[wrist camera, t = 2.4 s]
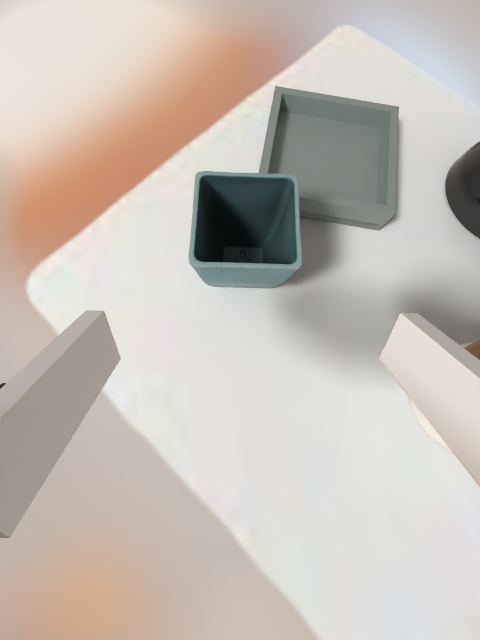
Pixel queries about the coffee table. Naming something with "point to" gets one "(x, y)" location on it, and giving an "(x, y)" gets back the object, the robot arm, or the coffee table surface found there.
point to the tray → (335, 155)
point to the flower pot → (245, 229)
